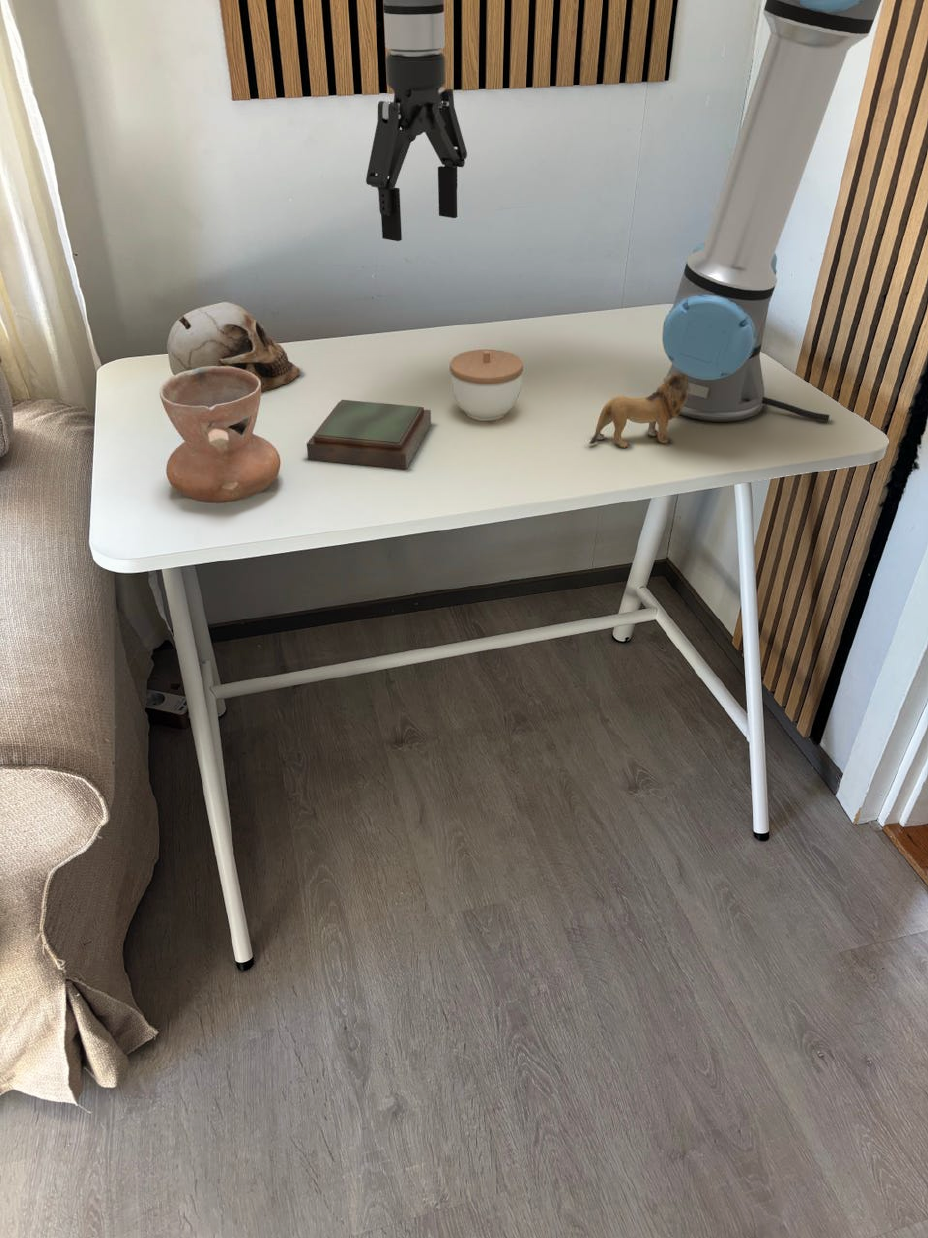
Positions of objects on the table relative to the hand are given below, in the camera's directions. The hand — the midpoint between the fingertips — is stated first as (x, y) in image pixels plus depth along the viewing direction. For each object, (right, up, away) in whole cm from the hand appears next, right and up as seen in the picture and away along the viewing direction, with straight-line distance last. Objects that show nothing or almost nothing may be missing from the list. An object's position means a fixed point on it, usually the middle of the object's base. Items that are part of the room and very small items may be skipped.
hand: (421, 227), depth 134 cm
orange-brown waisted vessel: (-25, -37, -7) cm, 45 cm away
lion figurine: (+31, -29, +3) cm, 42 cm away
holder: (-7, -29, +3) cm, 30 cm away
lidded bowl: (+9, -24, +10) cm, 28 cm away
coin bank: (-30, -17, +20) cm, 40 cm away
